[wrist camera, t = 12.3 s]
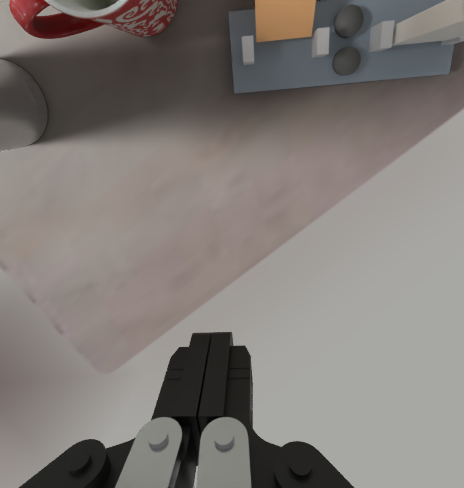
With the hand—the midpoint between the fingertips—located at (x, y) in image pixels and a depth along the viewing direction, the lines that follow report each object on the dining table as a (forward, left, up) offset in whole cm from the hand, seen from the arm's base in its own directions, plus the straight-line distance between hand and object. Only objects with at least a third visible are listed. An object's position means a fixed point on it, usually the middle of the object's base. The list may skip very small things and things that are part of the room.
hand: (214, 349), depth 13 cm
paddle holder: (+11, +12, -29) cm, 33 cm away
